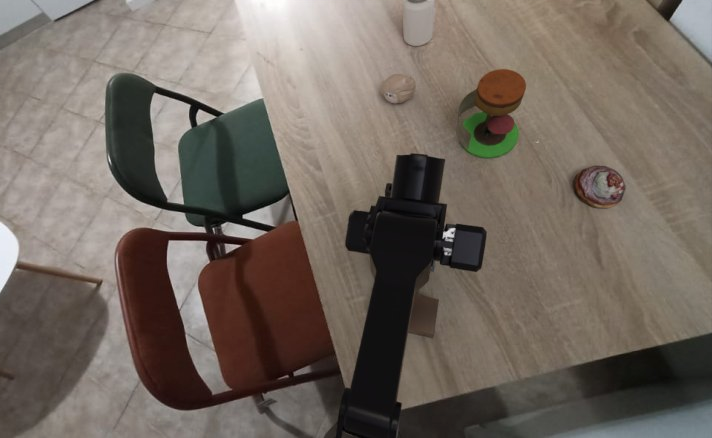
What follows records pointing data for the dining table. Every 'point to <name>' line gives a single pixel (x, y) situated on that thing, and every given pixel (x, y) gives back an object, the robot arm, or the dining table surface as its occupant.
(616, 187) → the pastry
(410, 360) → the dining table surface
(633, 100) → the dining table surface
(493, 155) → the toy burger
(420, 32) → the can
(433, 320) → the metal block
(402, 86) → the beige rounded lump
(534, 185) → the dining table surface
